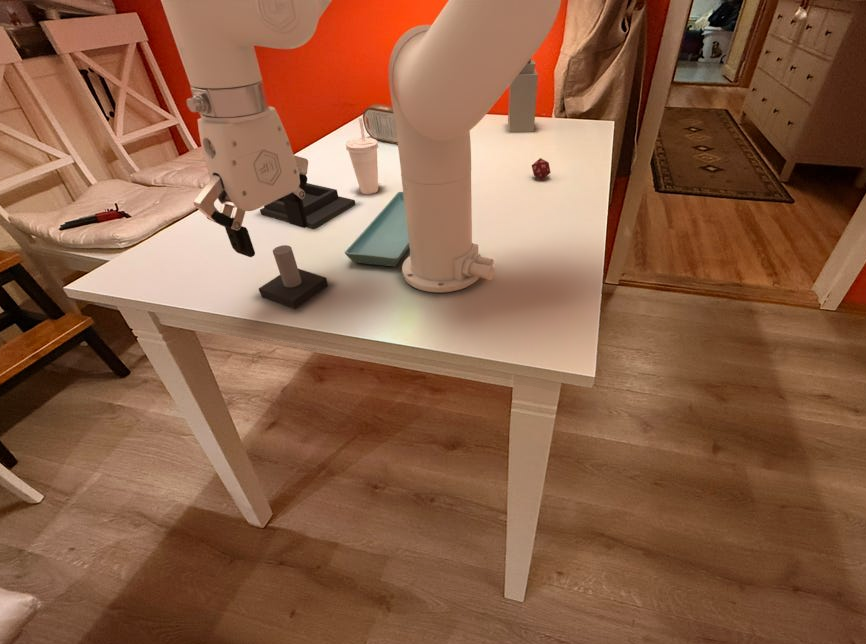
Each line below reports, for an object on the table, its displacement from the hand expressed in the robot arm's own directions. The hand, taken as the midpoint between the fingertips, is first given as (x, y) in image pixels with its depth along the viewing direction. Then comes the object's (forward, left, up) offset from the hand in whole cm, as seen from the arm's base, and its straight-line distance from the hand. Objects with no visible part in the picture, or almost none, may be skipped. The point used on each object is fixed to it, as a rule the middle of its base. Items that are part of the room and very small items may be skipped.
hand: (273, 238), depth 64 cm
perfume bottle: (+2, -90, -9) cm, 91 cm away
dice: (-17, -58, -9) cm, 61 cm away
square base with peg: (-1, 0, -9) cm, 9 cm away
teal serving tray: (-3, -23, -9) cm, 25 cm away
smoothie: (+13, -36, -9) cm, 40 cm away
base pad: (+18, -23, -9) cm, 31 cm away
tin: (+29, -65, -9) cm, 72 cm away
